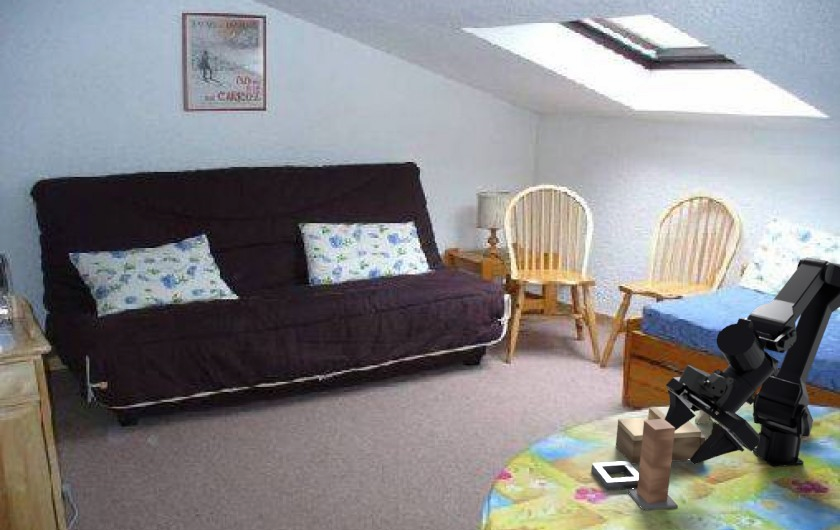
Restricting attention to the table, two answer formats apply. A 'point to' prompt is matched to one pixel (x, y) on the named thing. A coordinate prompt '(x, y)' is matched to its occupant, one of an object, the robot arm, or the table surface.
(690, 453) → the tan boxy piece
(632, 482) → the socket
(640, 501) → the felt pad
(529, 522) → the table surface
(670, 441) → the brown rectangular block
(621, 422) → the lid
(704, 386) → the robot arm
